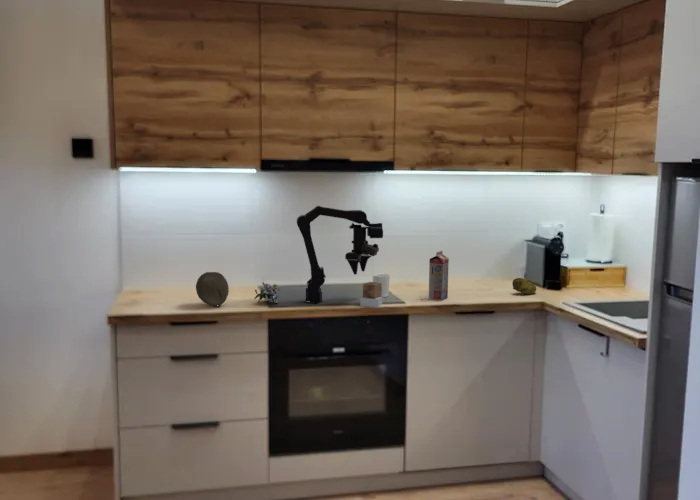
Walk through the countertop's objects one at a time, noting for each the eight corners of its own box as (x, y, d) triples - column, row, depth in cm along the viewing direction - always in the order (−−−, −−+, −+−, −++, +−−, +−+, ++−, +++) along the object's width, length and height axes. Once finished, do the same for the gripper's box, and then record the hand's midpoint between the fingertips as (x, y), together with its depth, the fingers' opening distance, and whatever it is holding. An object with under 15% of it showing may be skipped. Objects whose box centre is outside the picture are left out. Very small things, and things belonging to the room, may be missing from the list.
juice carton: (447, 298, 307) (448, 251, 304) (441, 300, 302) (443, 252, 299) (434, 296, 311) (435, 250, 308) (428, 299, 305) (429, 251, 302)
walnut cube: (362, 297, 290) (362, 283, 289) (369, 294, 295) (369, 281, 294) (374, 298, 287) (374, 285, 286) (381, 296, 292) (381, 283, 291)
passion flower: (275, 315, 293) (280, 297, 286) (251, 311, 291) (255, 293, 284) (277, 297, 302) (282, 279, 294) (253, 293, 300) (257, 275, 292)
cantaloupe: (232, 302, 294) (231, 269, 292) (225, 309, 280) (224, 275, 278) (200, 302, 295) (199, 269, 292) (192, 309, 281) (191, 274, 278)
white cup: (379, 298, 305) (379, 277, 304) (369, 295, 312) (369, 274, 311) (392, 296, 310) (393, 275, 308) (382, 293, 316) (383, 273, 315)
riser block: (360, 307, 289) (360, 298, 288) (364, 303, 296) (364, 294, 296) (378, 308, 287) (378, 299, 286) (382, 304, 294) (382, 295, 294)
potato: (540, 295, 315) (541, 278, 314) (515, 296, 313) (515, 279, 312) (533, 292, 323) (534, 275, 322) (508, 292, 321) (509, 276, 320)
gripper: (368, 241, 284) (368, 277, 286) (383, 237, 301) (383, 271, 303) (344, 240, 288) (344, 275, 290) (361, 235, 305) (360, 269, 307)
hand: (359, 272), depth 297 cm, fingers open, 9 cm apart
